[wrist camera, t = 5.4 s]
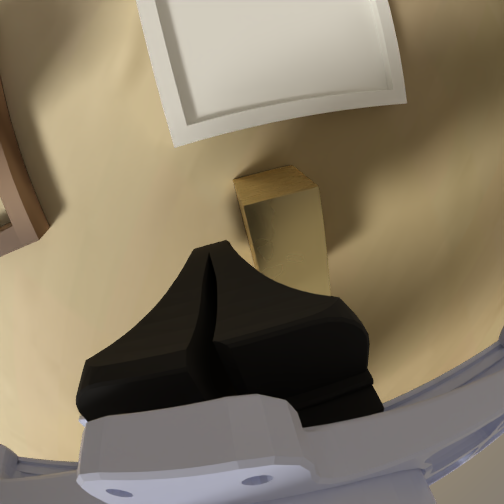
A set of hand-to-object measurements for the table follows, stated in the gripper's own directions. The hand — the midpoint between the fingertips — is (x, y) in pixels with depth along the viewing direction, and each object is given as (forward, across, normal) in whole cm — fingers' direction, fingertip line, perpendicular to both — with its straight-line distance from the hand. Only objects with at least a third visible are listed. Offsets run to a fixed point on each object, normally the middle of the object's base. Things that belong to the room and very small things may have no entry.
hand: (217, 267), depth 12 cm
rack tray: (+2, -4, -9) cm, 10 cm away
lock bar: (+2, -3, 0) cm, 3 cm away
